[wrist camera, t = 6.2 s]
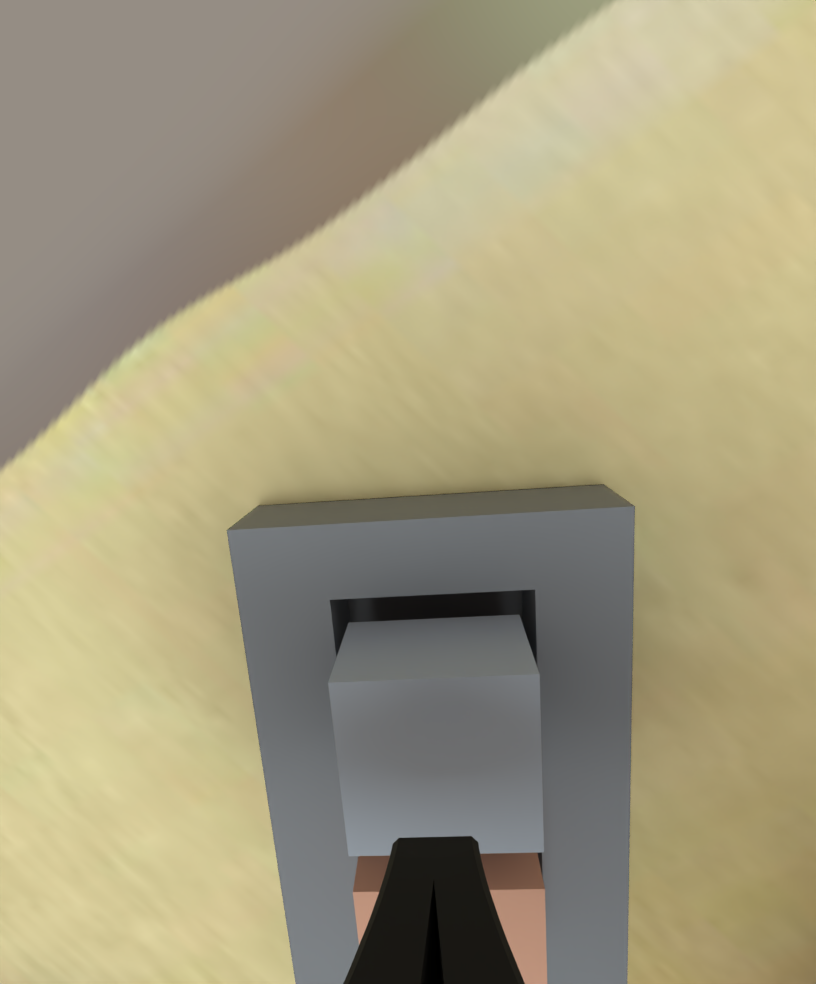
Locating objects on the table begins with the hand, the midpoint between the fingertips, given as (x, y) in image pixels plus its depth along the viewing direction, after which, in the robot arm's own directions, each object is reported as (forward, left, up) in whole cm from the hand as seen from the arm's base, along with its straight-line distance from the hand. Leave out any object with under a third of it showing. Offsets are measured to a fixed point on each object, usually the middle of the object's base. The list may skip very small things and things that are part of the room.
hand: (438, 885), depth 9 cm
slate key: (0, 0, -6) cm, 6 cm away
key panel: (0, +8, -8) cm, 11 cm away
